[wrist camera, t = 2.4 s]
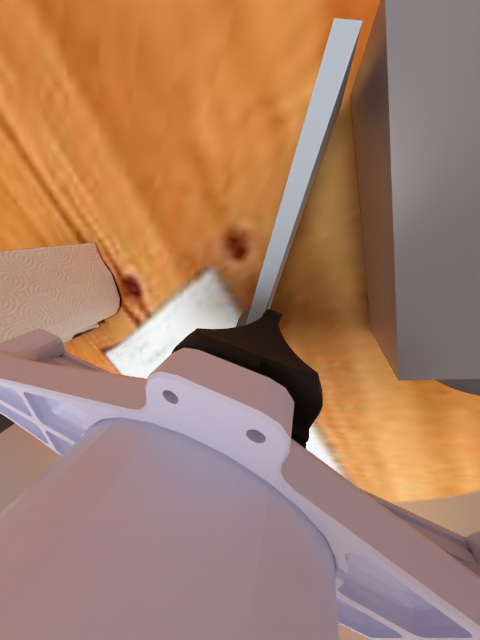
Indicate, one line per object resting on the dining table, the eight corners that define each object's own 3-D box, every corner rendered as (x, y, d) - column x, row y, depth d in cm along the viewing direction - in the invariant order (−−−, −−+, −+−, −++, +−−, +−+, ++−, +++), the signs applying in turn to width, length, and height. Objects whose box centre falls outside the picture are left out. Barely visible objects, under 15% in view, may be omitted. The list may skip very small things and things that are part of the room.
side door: (341, 104, 9) (363, 20, 5) (260, 335, 16) (245, 369, 12) (308, 99, 9) (306, 15, 6) (243, 328, 17) (223, 360, 13)
